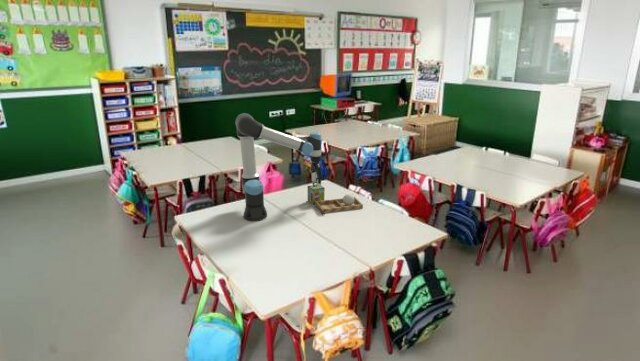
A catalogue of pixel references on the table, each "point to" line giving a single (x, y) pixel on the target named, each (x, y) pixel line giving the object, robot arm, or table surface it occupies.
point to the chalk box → (315, 193)
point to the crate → (336, 205)
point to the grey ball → (348, 199)
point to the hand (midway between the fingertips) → (316, 184)
